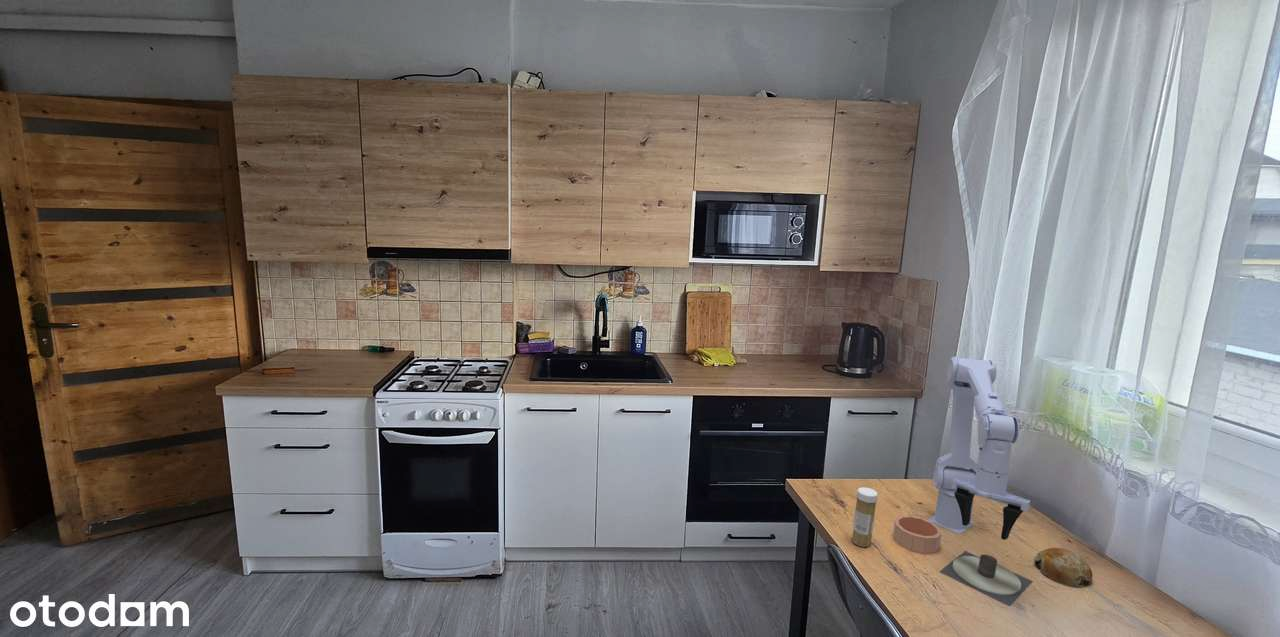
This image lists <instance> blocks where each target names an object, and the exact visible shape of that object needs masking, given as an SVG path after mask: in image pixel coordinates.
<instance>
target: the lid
mask: <svg viewBox="0 0 1280 637" xmlns="http://www.w3.org/2000/svg"><path fill="white" fill-rule="evenodd" d="M957 557H958V556H957ZM957 557H955V558H954V559H955V560H954V559H953V560H954V562H953V571H954V572H955V574H956V575H957V576H958V577H959V578H960V579H961V580H963V581H964V582H965V583H967V584H969V585H971V586H972V587H974V588H977V589H979V590H982V591H984V592H987V593H991V594H996V595H1004V596H1009V595H1014V594H1017V593H1018V592H1019V591H1020V589H1021V582H1020V580H1019V578H1018V577H1017V576H1016V575H1015V574H1014V573H1015V572H1014V571H1011V570H1010V569H1008V568H1007V567H1006V566H1004V565H1002V564H999V563H998V559H997V558H996V557H994V556H992V555H988V554H984V553H983V554H980V556H978V557H973V556H962V557H958V558H957ZM979 557H980V558H979ZM1013 572H1014V573H1013Z"/></svg>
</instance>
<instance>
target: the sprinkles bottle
mask: <svg viewBox="0 0 1280 637" xmlns="http://www.w3.org/2000/svg"><path fill="white" fill-rule="evenodd" d="M878 497H879V496H878V492H877V491H876V490H875V489H872V488H869V487H858V489H857V491H856V506H855V510H854V511H855V512H854V517H853V529H852V530H853V531H852V536H851V541H852V542H853V543H854V545H856V546H858V547H861V548H868V547H871V545H872V538H873V533H874V525H875V514H876V505H877V502H878Z"/></svg>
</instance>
